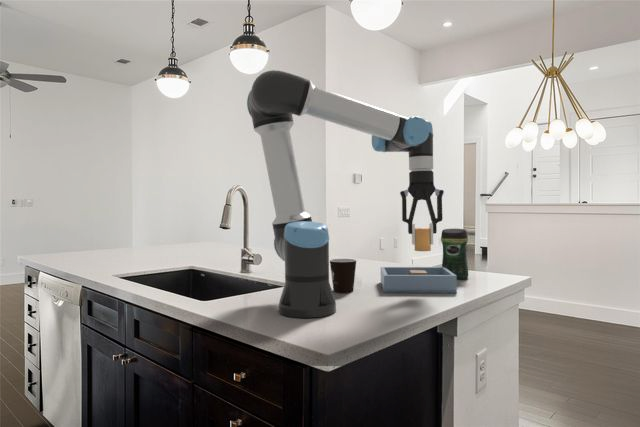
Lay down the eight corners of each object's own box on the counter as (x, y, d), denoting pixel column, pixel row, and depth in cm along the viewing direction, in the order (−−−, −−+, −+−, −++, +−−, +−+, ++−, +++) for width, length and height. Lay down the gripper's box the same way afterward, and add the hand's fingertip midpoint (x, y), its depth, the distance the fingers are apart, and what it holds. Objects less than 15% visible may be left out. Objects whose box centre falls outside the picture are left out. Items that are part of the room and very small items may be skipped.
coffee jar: (469, 277, 163) (469, 228, 163) (466, 280, 156) (466, 229, 156) (443, 275, 168) (443, 227, 167) (439, 278, 160) (439, 228, 160)
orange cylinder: (431, 251, 134) (431, 228, 134) (415, 251, 135) (414, 229, 135) (429, 249, 139) (429, 227, 139) (413, 249, 140) (413, 228, 139)
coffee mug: (354, 294, 135) (354, 262, 134) (327, 293, 136) (327, 261, 136) (359, 287, 146) (358, 257, 146) (334, 286, 148) (333, 257, 148)
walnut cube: (427, 288, 138) (427, 272, 137) (411, 288, 138) (411, 272, 138) (424, 285, 143) (424, 270, 142) (409, 285, 143) (409, 270, 143)
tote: (456, 293, 134) (456, 275, 134) (384, 292, 136) (384, 275, 136) (444, 282, 153) (444, 267, 152) (380, 282, 154) (380, 267, 154)
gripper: (448, 170, 139) (449, 242, 140) (391, 172, 141) (393, 243, 142) (452, 168, 132) (453, 244, 132) (393, 170, 134) (394, 245, 134)
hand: (422, 243), depth 137 cm, fingers closed on orange cylinder, 5 cm apart
